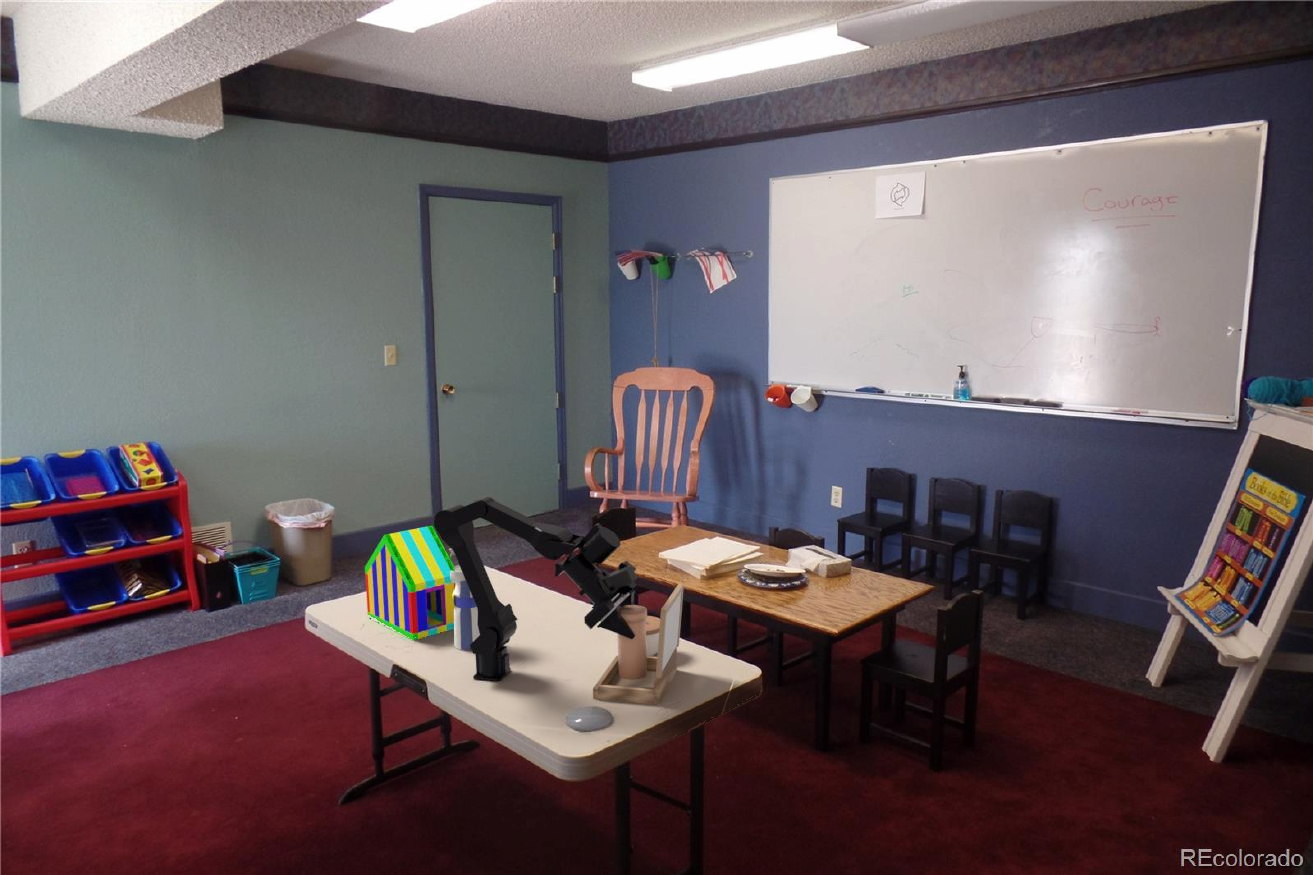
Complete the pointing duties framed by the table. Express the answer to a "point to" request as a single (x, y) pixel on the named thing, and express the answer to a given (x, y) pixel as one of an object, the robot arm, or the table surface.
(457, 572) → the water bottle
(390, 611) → the toy house
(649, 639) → the lidded jar
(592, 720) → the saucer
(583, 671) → the table surface
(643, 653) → the tan cylindrical canister
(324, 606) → the table surface
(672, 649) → the lid
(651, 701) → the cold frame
